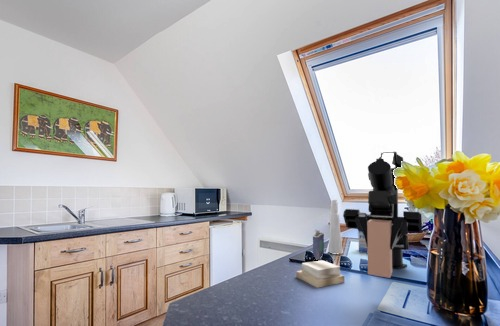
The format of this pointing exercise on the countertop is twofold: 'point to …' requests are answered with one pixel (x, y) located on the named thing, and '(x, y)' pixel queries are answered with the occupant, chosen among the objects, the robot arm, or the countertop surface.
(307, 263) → the tower top slab
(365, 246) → the medicine box
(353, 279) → the countertop surface
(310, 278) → the tower base slab
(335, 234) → the cosmetic bottle
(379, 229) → the pillar
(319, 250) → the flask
